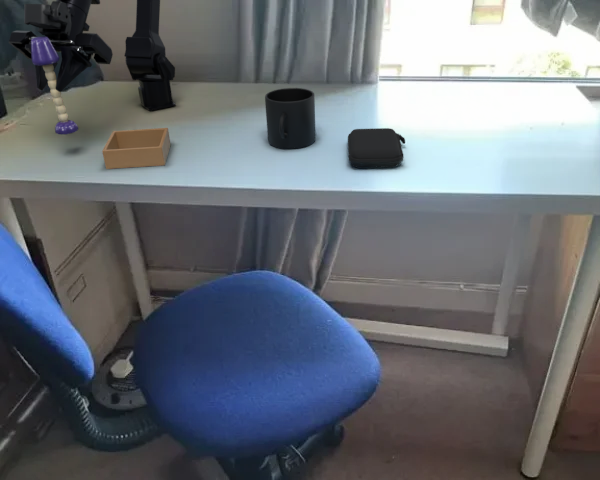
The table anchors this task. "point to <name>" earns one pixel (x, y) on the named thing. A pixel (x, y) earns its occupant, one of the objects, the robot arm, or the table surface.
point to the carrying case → (375, 148)
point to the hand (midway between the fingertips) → (48, 90)
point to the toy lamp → (52, 80)
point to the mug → (290, 117)
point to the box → (137, 148)
